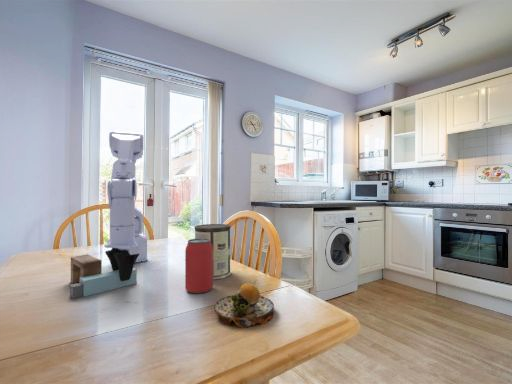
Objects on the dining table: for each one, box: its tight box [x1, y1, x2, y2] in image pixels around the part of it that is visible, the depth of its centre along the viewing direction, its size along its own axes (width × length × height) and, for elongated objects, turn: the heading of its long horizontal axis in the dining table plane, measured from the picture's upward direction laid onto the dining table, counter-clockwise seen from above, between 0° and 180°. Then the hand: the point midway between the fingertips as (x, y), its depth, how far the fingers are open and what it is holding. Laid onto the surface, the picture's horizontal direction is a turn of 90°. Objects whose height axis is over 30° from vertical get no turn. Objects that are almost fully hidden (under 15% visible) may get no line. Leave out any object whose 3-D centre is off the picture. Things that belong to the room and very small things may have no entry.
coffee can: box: [194, 223, 231, 281], centre depth 77 cm, size 10×10×14 cm
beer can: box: [184, 238, 214, 294], centre depth 65 cm, size 7×7×12 cm
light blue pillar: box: [69, 267, 138, 300], centre depth 65 cm, size 14×3×4 cm, turn 139°
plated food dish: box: [214, 280, 275, 329], centre depth 52 cm, size 12×12×8 cm
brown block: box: [70, 254, 103, 284], centre depth 68 cm, size 4×10×7 cm, turn 49°
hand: (122, 278), depth 68 cm, fingers closed on light blue pillar, 3 cm apart
